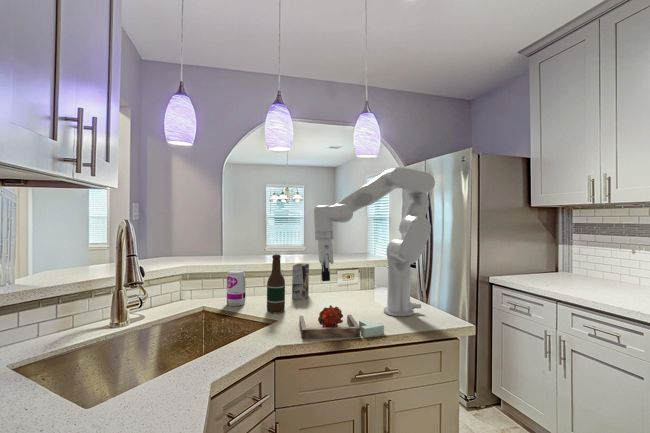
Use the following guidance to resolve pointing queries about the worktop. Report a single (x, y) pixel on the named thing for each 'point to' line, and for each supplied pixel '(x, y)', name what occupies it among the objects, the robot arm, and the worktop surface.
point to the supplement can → (236, 287)
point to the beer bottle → (276, 288)
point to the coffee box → (300, 281)
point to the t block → (370, 328)
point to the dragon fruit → (330, 317)
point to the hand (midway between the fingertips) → (325, 280)
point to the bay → (330, 330)
